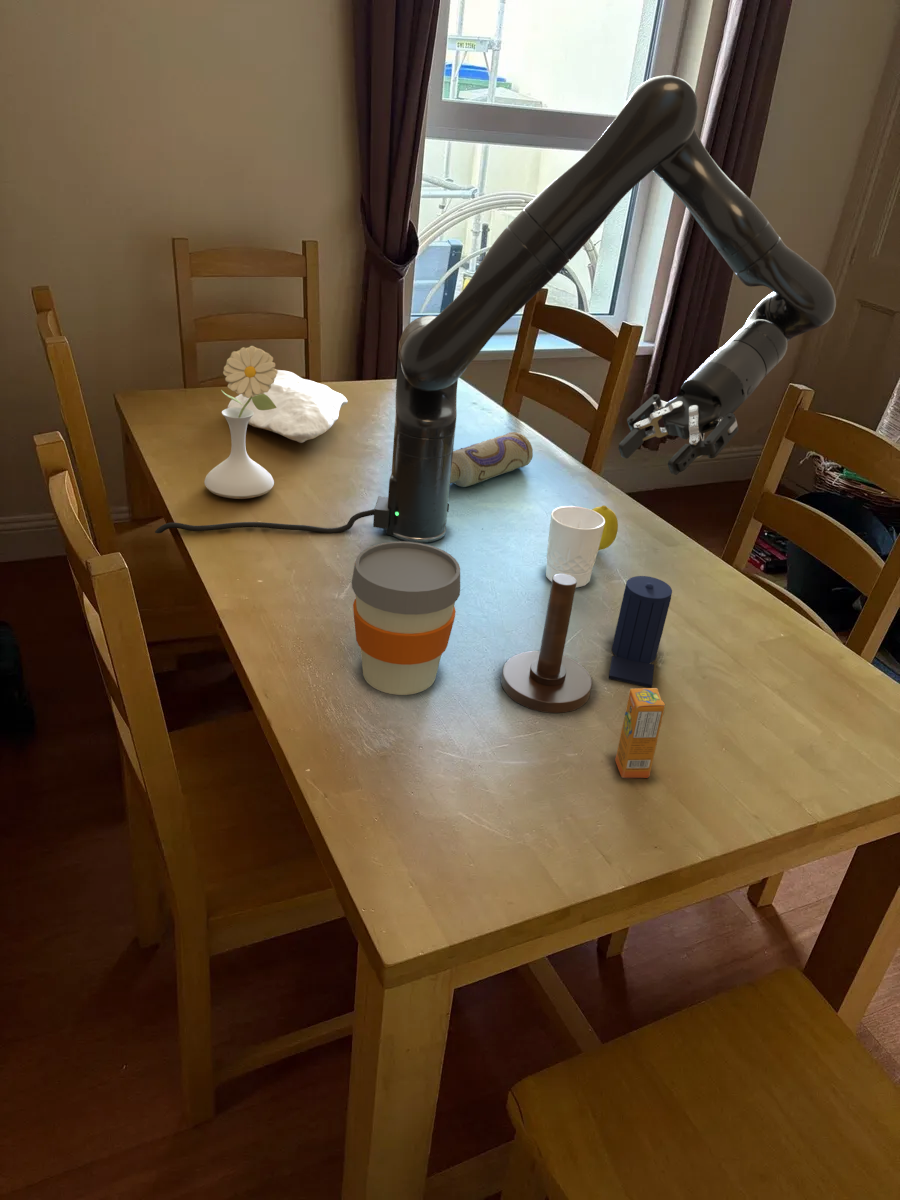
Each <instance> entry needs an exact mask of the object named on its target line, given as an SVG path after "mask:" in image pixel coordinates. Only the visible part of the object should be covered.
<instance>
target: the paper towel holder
mask: <svg viewBox="0 0 900 1200" xmlns="http://www.w3.org/2000/svg"><path fill="white" fill-rule="evenodd" d="M576 584H577V580H576V579H575V578H574V577H573V576H571V575H568V574H556V575H554V576H553V578H552V582H551V585H550V590H549V596H548V602H547V608H546V613H545V619H544V625H543V631H542V637H541V643H540V648H539V650H527V651H523V652H520V653H517V654H514V655H512V656H511V657H509V658H508V659H507V660H506V661H505V663H504V664H503V667H502V672H501V679H500V681H501V686H502V689H503V691H504V692H505V693H506V695H507V696H508V697H509V698H510V699H511V700H513V701H514V702H515V703H517V704H519V705H521V706H522V707H525V708H527V709H530V710H534V711H536V712H537V711H538V712H542V713H549V714H550V713H551V714H561V713H567V712H572V711H575V710H577V709H580V708H581V707H583V706H584V705H585V704H586V703H587V702H588V701H589V698H590V697H591V691H592V686H593V680H592V677H591V674H590V673H589V671H588V669H586V667H584V666H583V665H582V664H581V663H579V662H578V661H576V660H574V659H573V658H571V657H569V656H566V655H564V651H565V646H566V643H567V642H566V641H567V636H568V631H569V625H570V620H571V615H572V609H573V604H574V599H575V595H576V594H575V593H576V589H577V587H576Z"/></svg>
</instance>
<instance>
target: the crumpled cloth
mask: <svg viewBox="0 0 900 1200" xmlns="http://www.w3.org/2000/svg"><path fill="white" fill-rule="evenodd" d="M277 371H278V373H277V374H276V378H274V380H275V381H274V383H272V384H271V388H270V389H269V391H268V392H265V393H264V394H265V395H267V396H268V397H269V398H270V399H271V400H272V402H273V403H274V404H275V406H276V408H274V409H269V410H258V409H257V408H256V407H255V405H254V403H253V401H252V399H251V400H250V402H249V403H248V405H247V406H246V407H245V408H246V409H249V410H251V411H253V413H254V414H253V416H252V417H251V418H250V420H249V422H248V425H249V426H252V427H253V428H258V429H263V430H266V431H269V432H272V433H274V434H278V435H280V436H283V437H285V438H287V439H289V440H291V441H295V442H297V443H299V444H303V443H305V442H306V441H308V440H313V439H315V438H317V437H319V436H322V435H323V434H325V433H326V432H327V431H329V430H330V429H331V428H332V427H333V425H334V424H335V423H336V422H337V421H338V419H339V415H340V410H341V409H342V408H343V407H344V406H345V405H347V404H348V399H347V398H346V396H345V395H344V394H342V393H340V392H338V391H336V390H333V389H332V388H330V387H329V386H328V385H327V384H323V383H319V382H316V381H314V380H311V379H306V378H303V377H301V376H299V375H298V374H296V373H294V372H293V371H288V370H284V369H283V370H281V369H277ZM234 398H236V399H237V400H239V401H240V402H241V403H242V404H243V405H242V404H240V403H238V402H236V401H234V400H232V399H231V400H230V401H229V403H228V404H227V408H234V407H239V408H243V406H244V405H245V404H246V402H247V401H248V400H249V398H246V397H244V396H243V395H242V394H237V395H236V396H235V397H234Z"/></svg>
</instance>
